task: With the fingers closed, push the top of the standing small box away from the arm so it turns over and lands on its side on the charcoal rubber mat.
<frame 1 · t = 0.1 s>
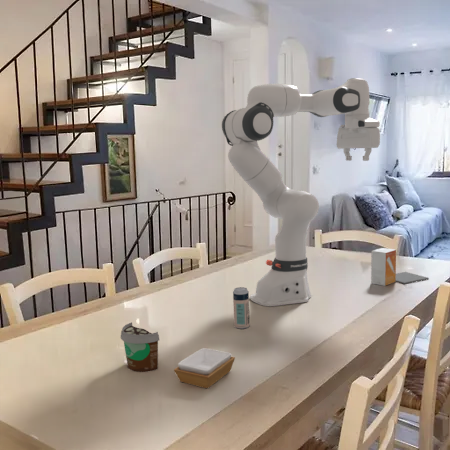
hand: (357, 160, 195), 48 cm above the table, tool pointing down, fingers open, 8 cm apart
small box: (383, 283, 202), on the table
food container: (136, 368, 131), on the table
supplement bottle: (241, 327, 158), on the table
mat: (404, 278, 207), on the table
soap dish: (205, 378, 125), on the table
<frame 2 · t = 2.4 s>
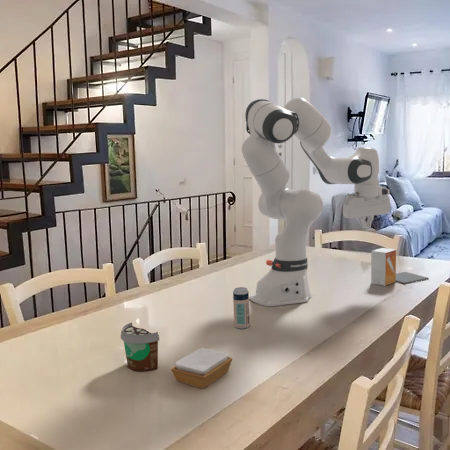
hand: (366, 227, 195), 23 cm above the table, tool pointing down, fingers closed
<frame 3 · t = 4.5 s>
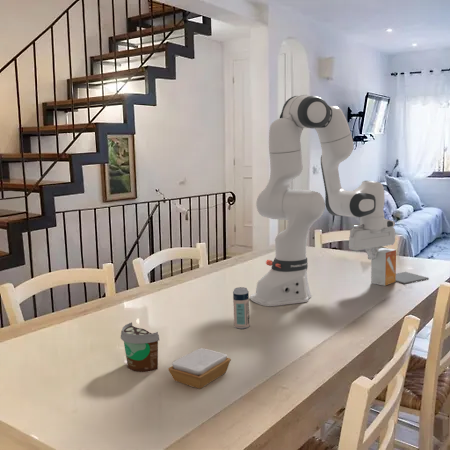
hand: (372, 259, 198), 10 cm above the table, tool pointing down, fingers closed
small box: (383, 283, 202), on the table, touching gripper
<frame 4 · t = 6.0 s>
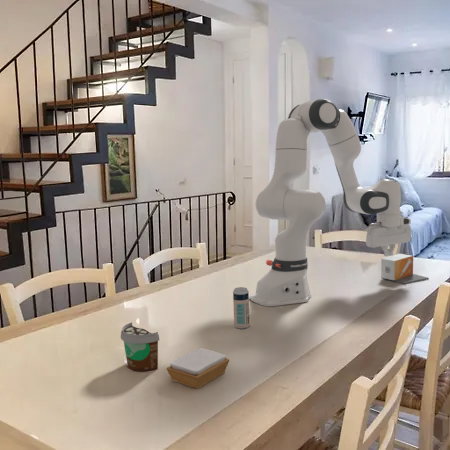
hand: (388, 255, 202), 10 cm above the table, tool pointing down, fingers closed
small box: (387, 269, 203), point 5 cm above the table, touching mat
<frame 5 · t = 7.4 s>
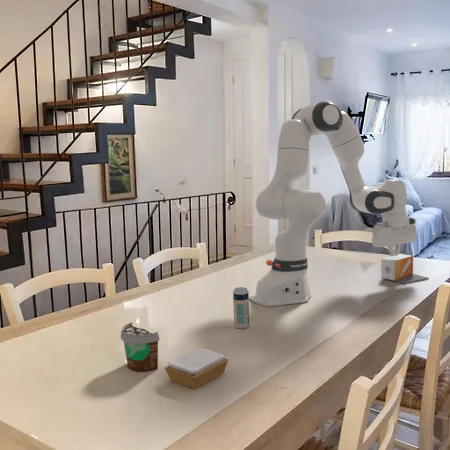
hand: (394, 255, 203), 10 cm above the table, tool pointing down, fingers closed
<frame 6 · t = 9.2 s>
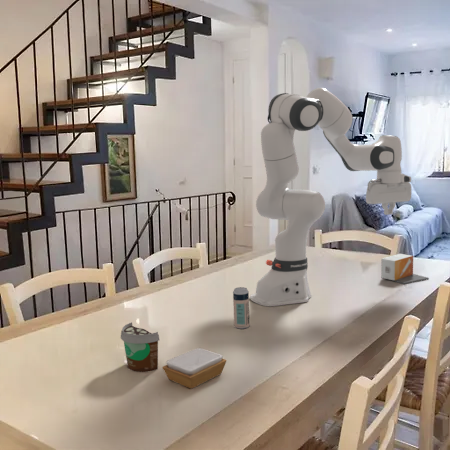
hand: (388, 214, 199), 27 cm above the table, tool pointing down, fingers closed
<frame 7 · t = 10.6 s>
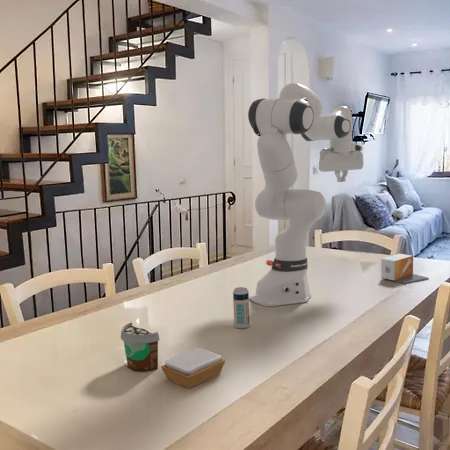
hand: (341, 181, 210), 39 cm above the table, tool pointing down, fingers closed
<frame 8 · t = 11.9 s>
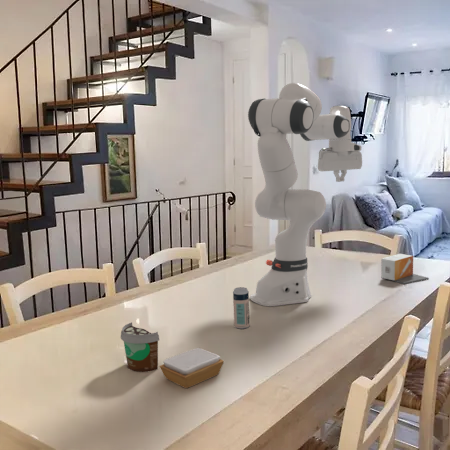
hand: (340, 181, 210), 39 cm above the table, tool pointing down, fingers closed
at the end: small box tilted 90°; small box 8.3 cm from the mat (horizontally); small box moved 5.4 cm from its start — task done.
